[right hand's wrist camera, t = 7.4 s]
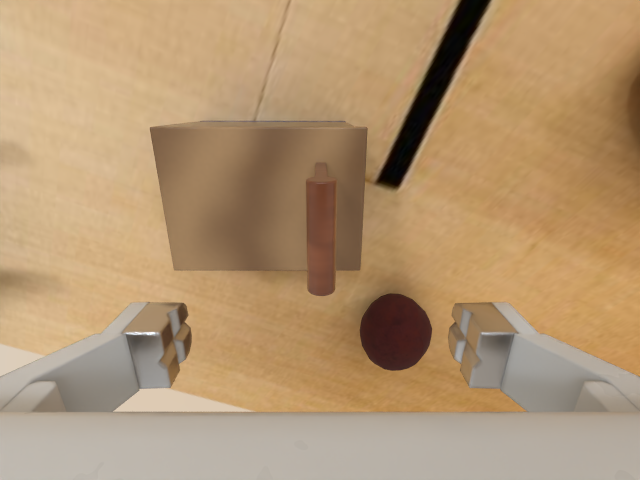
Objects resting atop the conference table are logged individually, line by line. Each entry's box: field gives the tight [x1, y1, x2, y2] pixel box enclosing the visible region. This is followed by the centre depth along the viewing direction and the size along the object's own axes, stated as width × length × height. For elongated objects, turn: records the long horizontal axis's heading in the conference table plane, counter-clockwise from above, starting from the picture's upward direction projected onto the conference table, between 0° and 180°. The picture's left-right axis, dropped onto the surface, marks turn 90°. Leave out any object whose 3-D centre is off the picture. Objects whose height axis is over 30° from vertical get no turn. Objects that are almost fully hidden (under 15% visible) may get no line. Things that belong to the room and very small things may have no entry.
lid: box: [150, 126, 367, 296], centre depth 20 cm, size 14×10×8 cm
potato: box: [360, 294, 432, 371], centre depth 35 cm, size 7×8×7 cm
